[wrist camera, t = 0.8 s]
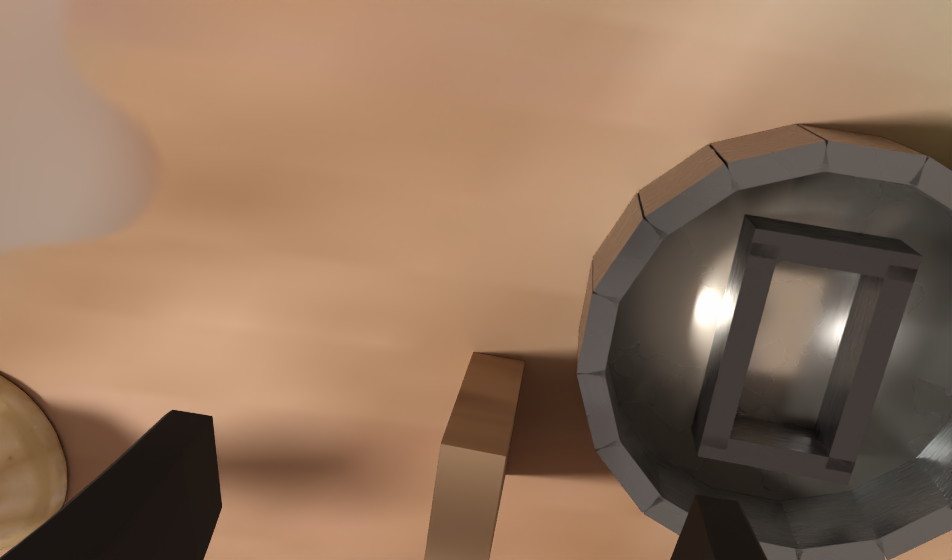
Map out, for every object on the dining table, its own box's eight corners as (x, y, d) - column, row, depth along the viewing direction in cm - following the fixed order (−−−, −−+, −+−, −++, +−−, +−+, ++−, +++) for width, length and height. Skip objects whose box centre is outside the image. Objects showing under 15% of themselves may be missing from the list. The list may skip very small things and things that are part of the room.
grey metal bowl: (928, 538, 29) (972, 606, 25) (552, 465, 30) (547, 522, 26) (1066, 165, 24) (1140, 189, 21) (623, 97, 26) (627, 109, 22)
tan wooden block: (505, 474, 30) (482, 592, 24) (456, 465, 30) (421, 580, 24) (524, 361, 29) (506, 456, 22) (473, 351, 29) (440, 443, 23)
